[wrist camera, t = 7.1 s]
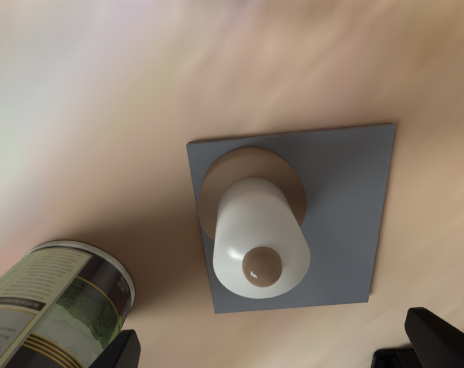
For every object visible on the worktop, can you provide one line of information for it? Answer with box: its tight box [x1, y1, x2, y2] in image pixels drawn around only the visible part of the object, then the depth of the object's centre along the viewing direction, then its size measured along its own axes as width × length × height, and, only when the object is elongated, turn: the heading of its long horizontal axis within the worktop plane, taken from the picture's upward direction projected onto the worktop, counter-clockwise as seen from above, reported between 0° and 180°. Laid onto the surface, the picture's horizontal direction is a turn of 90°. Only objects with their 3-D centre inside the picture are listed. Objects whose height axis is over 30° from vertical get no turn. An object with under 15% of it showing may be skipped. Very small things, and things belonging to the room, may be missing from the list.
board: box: [186, 123, 396, 314], centre depth 20 cm, size 16×14×1 cm
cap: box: [213, 177, 310, 299], centre depth 13 cm, size 4×4×6 cm
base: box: [197, 146, 307, 242], centre depth 17 cm, size 7×7×2 cm
